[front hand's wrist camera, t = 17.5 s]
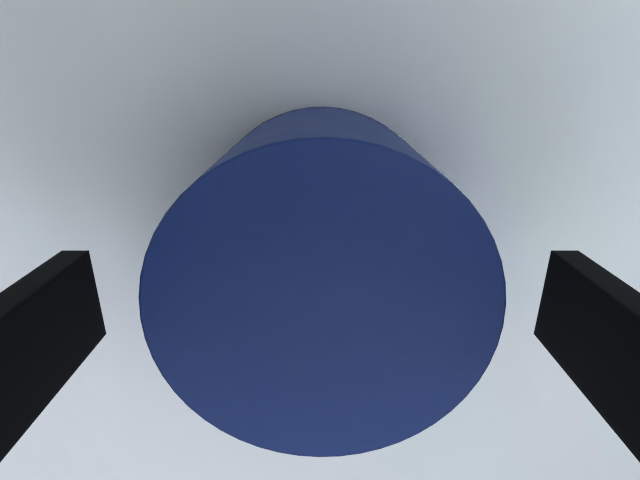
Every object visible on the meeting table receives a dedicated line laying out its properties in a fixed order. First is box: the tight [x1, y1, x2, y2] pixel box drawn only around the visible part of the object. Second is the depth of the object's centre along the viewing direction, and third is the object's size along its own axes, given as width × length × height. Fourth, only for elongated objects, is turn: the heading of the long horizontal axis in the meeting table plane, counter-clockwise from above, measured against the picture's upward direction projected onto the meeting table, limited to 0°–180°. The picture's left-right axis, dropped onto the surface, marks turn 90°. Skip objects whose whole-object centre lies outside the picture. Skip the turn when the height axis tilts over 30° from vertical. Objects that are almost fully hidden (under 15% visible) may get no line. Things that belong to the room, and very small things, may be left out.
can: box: [139, 107, 506, 457], centre depth 14 cm, size 9×9×8 cm
